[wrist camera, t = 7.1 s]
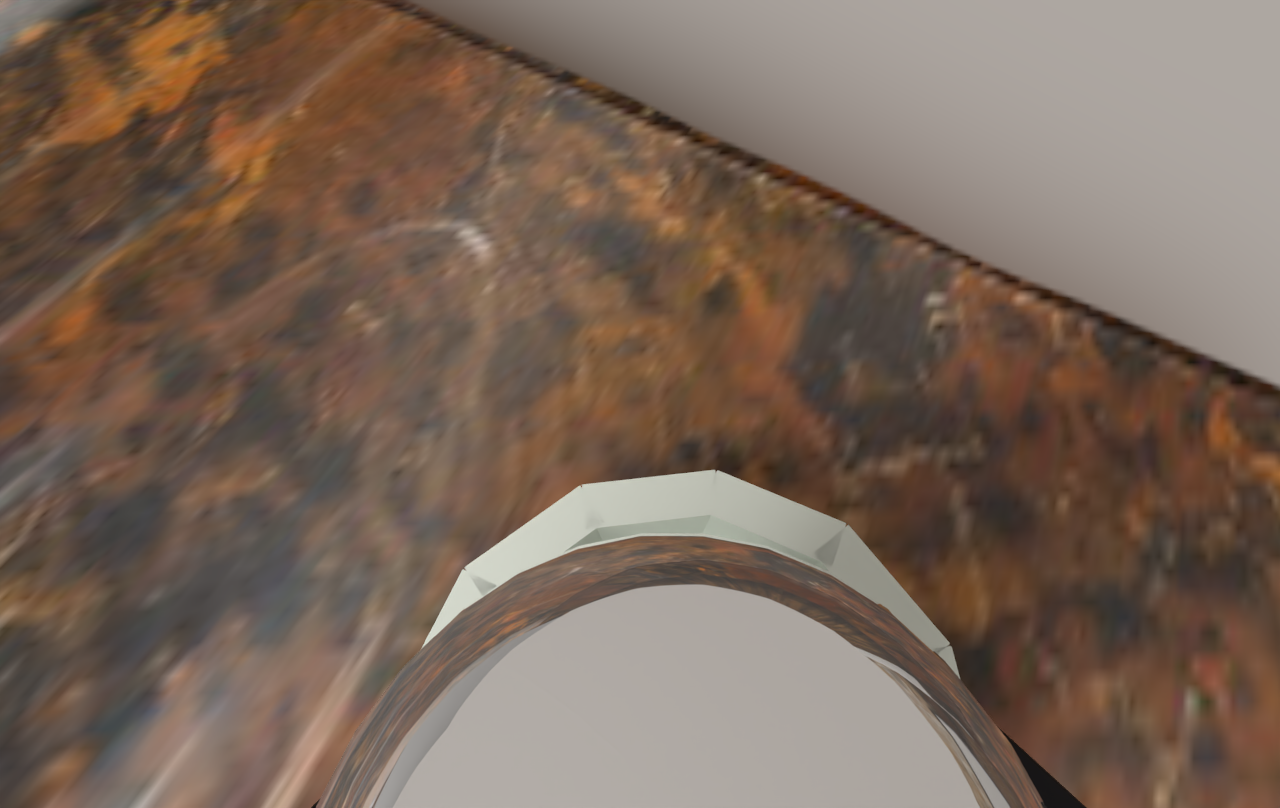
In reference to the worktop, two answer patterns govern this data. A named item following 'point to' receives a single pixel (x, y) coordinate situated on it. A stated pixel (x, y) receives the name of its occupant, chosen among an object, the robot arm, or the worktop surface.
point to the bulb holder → (692, 509)
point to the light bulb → (677, 695)
